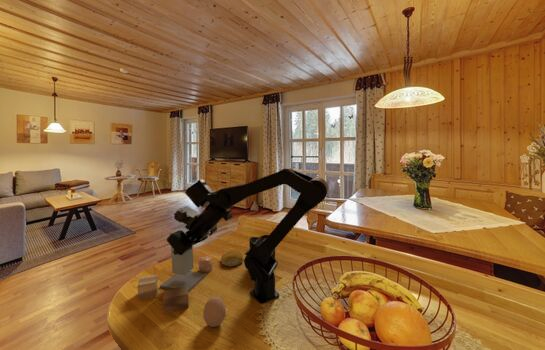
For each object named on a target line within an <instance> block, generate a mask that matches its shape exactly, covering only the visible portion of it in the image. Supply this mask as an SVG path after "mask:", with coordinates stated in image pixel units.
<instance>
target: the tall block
mask: <svg viewBox="0 0 545 350" xmlns="http://www.w3.org/2000/svg"><path fill="white" fill-rule="evenodd" d="M178 230H180V231H183V232H184V233H185V232H187V231H188V230H187V229H186V228H185V227H184V228H177V229H175V230H173V231H171V232H169V235H170V234H172V233H174V232H176V231H178ZM185 234H186V233H185ZM186 235H187V234H186ZM190 240H191V238H190ZM193 246H194V245H192V247H193ZM193 248H194V247H193ZM193 248H192V249H190V250H189V251H187V252H186V253H184V254H183V255H179V254H177V255H175V254H174V253H173V251H174V249H173V247H172V246H171V245H170V251H171V252H170V254H171V269H172V270H171V271H172V274H173V275H174V274H182V275H186V274H187V273H188V272H189V271H191V270H193V269H194V251H193V250H194V249H193Z"/></svg>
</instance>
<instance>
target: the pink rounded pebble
mask: <svg viewBox="0 0 545 350" xmlns="http://www.w3.org/2000/svg"><path fill="white" fill-rule="evenodd" d="M212 270H213V257H211V256H207V255H206V256H202V257H200V258H199V259H198V272H200V273H206V274H208V273H211V272H212Z"/></svg>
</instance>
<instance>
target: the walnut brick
mask: <svg viewBox="0 0 545 350" xmlns="http://www.w3.org/2000/svg"><path fill="white" fill-rule="evenodd" d="M162 302H163V303H162V305H163V314H167V313H171V312H175V311H176V312H177V311H180V310H186V309H188V308H189V306H190V305H189V304H190V303H189V292H188V286H185V287H180V288H175V289H165V290H163V296H162Z"/></svg>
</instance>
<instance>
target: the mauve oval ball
mask: <svg viewBox="0 0 545 350" xmlns="http://www.w3.org/2000/svg"><path fill="white" fill-rule="evenodd" d="M226 312H227V311H226V305H225V303H224V301H223V300H222V298H220V297H219V296H212V297H210V298H209V299H208V300H207V301H206V302H205V305H204V307H203V312H202V314H203V320H204V322H205V323H206V325H207V326H208V327H211V328H215V327H219V326H220V325H221V324H222V323H223V322H224V320H225V317H226Z"/></svg>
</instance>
